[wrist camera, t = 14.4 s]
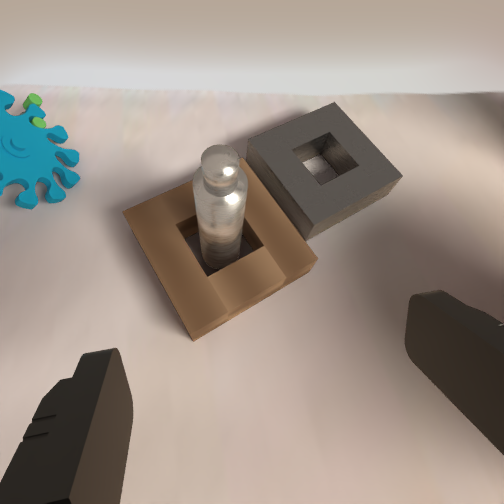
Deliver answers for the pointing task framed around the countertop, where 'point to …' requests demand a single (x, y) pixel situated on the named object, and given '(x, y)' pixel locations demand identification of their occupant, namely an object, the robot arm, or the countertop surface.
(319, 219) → the socket block
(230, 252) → the steel pin
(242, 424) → the countertop surface
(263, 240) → the rack block
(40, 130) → the blue pixel flower
